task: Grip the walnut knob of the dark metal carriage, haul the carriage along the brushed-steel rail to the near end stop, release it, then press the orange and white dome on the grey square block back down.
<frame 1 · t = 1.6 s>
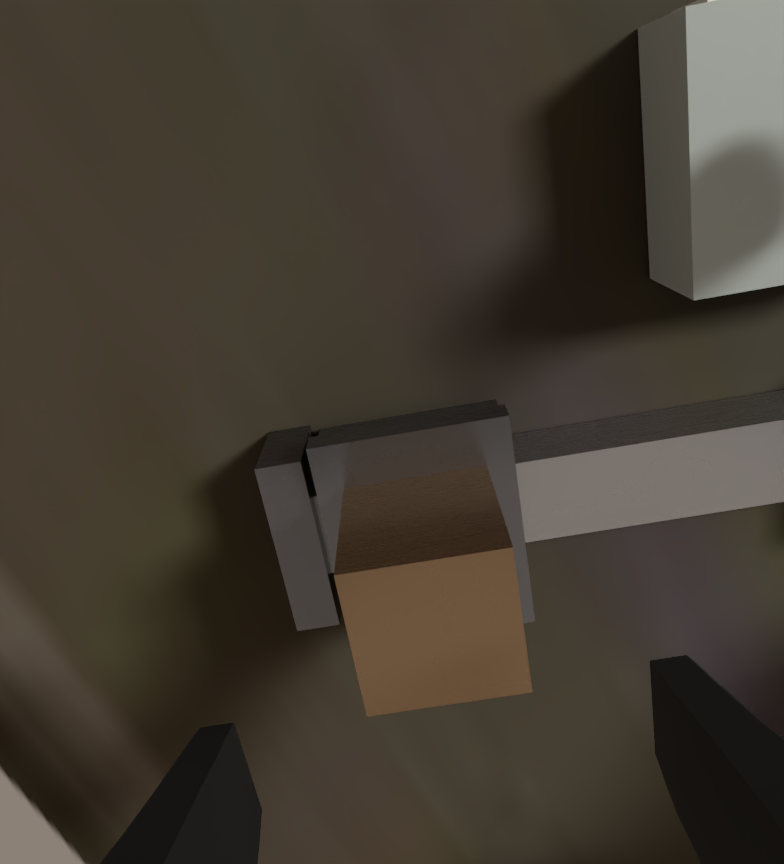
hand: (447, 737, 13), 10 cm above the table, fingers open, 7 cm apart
grey square block: (764, 138, 19), on the table
rail: (589, 460, 22), on the table
carriage: (427, 551, 19), point 4 cm above the table, slide at 5.0 cm
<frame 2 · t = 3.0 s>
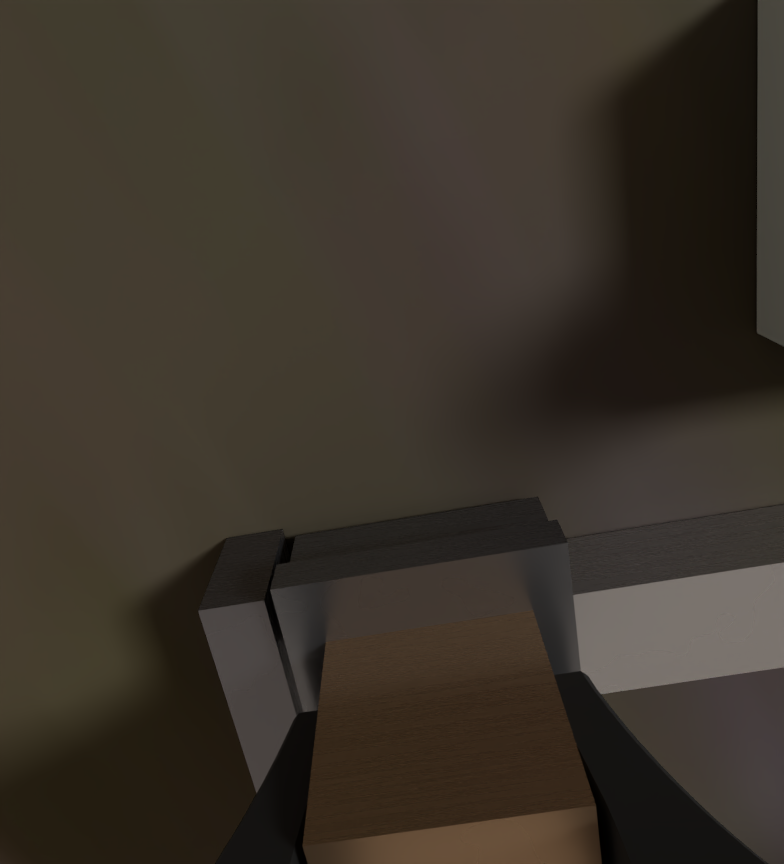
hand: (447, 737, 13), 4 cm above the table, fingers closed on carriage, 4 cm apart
rail: (662, 572, 16), on the table
carriage: (446, 733, 13), point 4 cm above the table, slide at 5.0 cm, touching gripper
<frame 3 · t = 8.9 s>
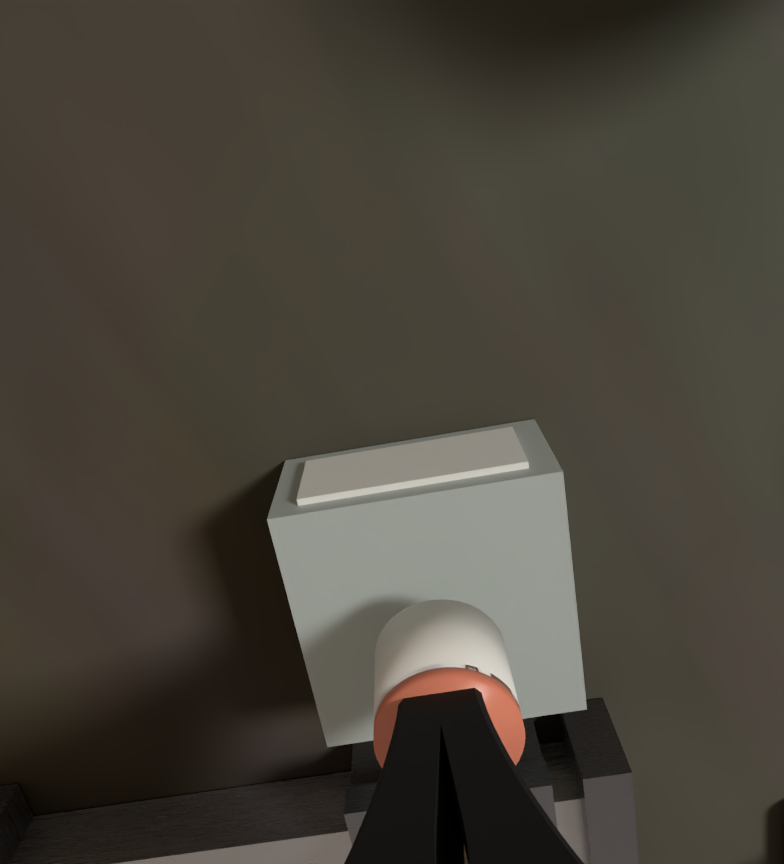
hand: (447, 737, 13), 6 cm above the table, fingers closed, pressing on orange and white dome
grey square block: (428, 548, 19), on the table
orange and white dome: (444, 694, 14), point 5 cm above the table, slide at 1.1 cm, touching gripper
rail: (302, 809, 22), on the table
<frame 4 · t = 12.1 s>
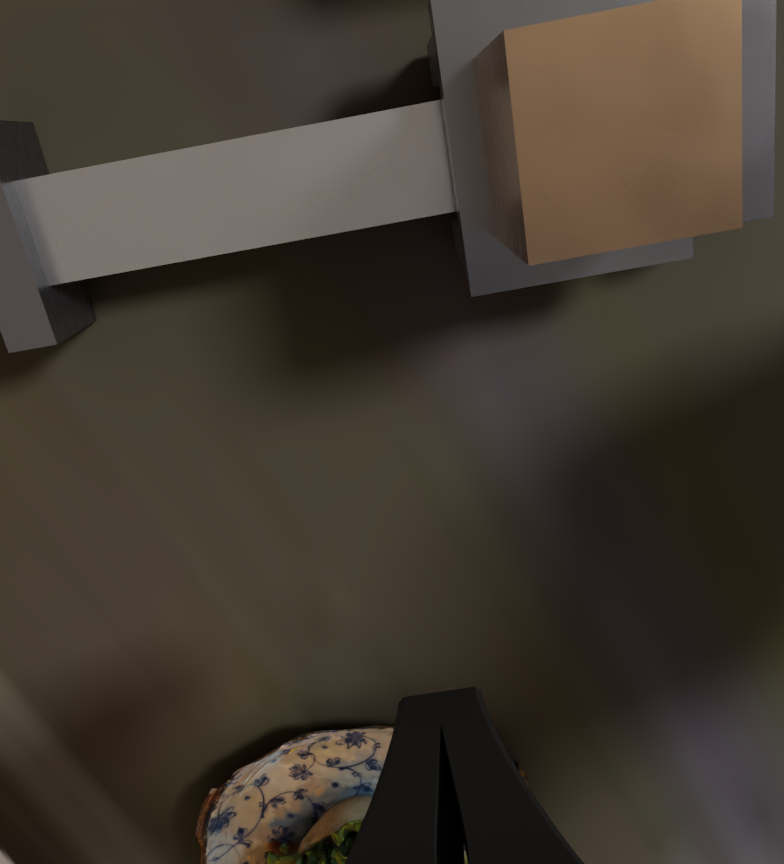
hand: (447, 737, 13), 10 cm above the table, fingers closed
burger: (368, 813, 27), on the table
rail: (363, 170, 19), on the table
carriage: (576, 135, 15), point 4 cm above the table, slide at -4.5 cm
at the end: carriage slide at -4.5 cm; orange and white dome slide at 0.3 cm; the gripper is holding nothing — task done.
